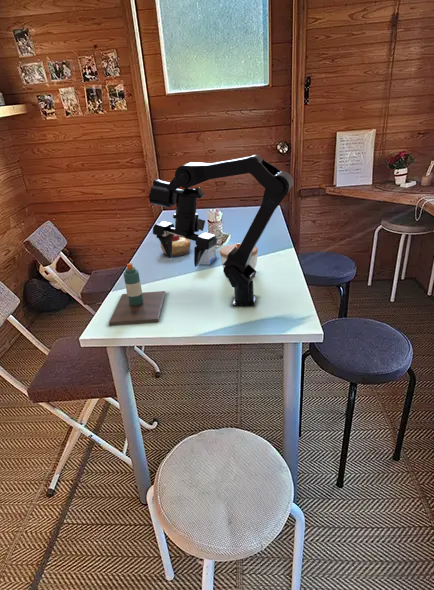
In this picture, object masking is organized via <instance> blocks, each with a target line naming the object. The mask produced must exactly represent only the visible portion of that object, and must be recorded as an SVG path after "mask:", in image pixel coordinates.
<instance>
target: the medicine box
mask: <svg viewBox="0 0 434 590" xmlns="http://www.w3.org/2000/svg"><path fill="white" fill-rule="evenodd" d="M216 259H217V249H216V245H215V246H213V247H211V248H210V249H207V250H205V252H204V253H203V255H202V257H201V259H200V261H199V264H198V265H200V266H201V265H202V266H210V265H211V264H212V263H213V262H214V261H215V260H216Z"/></svg>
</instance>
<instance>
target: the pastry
mask: <svg viewBox="0 0 434 590" xmlns="http://www.w3.org/2000/svg"><path fill="white" fill-rule="evenodd" d="M159 243H160V244H159V245H160V248H161V251H162V252H163V254H164V255H166V256H167V254H166V252H165V249H164V247H163V245H162V244H161V242H159ZM190 249H191V240H190V239H186V238H183V237H180V236H176V235H174V237H173V239H172V256H171V257H179V256H184V255H186V254H188V253H189V251H190Z"/></svg>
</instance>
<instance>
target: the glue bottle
mask: <svg viewBox="0 0 434 590" xmlns="http://www.w3.org/2000/svg"><path fill="white" fill-rule="evenodd" d="M124 270H125V271H124V272H123V279H124V285H125V290H126V294H127V295H128V300H129V304H130V305H132V306H137V305H140V304H142V303H143V302H144V301H143V295H142V293H143V290H142V284H141V279H140V272H139V270H138V269H136V267H134V266H133V263H131V262H128V263H126V268H125V269H124Z"/></svg>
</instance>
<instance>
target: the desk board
mask: <svg viewBox="0 0 434 590" xmlns="http://www.w3.org/2000/svg"><path fill="white" fill-rule="evenodd" d="M166 294H167V292H166V290H158V291H145V292H142V295H143V301H144V302H143V303H142V304H140V305H137V306H132V305H130V304H129V300H128V295H127V293H122V294H121V296H120V298H119V300H118V302H117V305H116V307H115V309H114V311H113V313H112V315H111V317H110V318H109V321H108V324H109V326H119V325H134V324H135V325H136V324H148V323H159V321H160V317H161V313H162V309H163V306H164V302H165V298H166Z"/></svg>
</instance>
